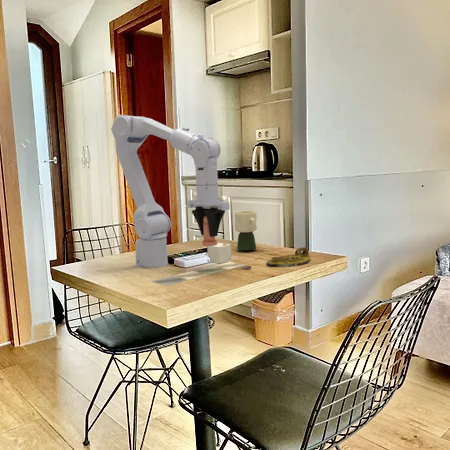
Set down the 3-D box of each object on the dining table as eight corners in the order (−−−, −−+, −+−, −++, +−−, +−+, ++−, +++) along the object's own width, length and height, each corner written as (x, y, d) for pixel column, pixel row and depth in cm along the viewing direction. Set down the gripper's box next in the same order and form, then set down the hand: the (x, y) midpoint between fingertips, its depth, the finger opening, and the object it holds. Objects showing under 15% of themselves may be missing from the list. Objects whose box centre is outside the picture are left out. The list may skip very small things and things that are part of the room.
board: (146, 284, 121) (146, 280, 120) (226, 264, 140) (226, 260, 140) (170, 290, 113) (170, 286, 113) (251, 268, 132) (251, 265, 132)
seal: (277, 274, 131) (319, 265, 138) (278, 258, 130) (320, 250, 137) (258, 264, 139) (298, 257, 146) (258, 249, 138) (299, 242, 145)
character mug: (264, 251, 155) (263, 212, 153) (245, 254, 152) (244, 214, 150) (247, 247, 165) (246, 209, 163) (229, 249, 161) (228, 211, 160)
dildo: (199, 244, 128) (197, 215, 127) (210, 242, 131) (209, 213, 129) (209, 246, 125) (207, 216, 124) (220, 244, 128) (219, 214, 127)
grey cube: (208, 261, 145) (207, 245, 144) (220, 258, 148) (219, 242, 147) (219, 263, 141) (218, 246, 140) (231, 260, 145) (230, 244, 144)
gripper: (178, 185, 128) (180, 235, 130) (214, 186, 118) (216, 240, 119) (198, 183, 133) (200, 231, 135) (234, 184, 122) (236, 236, 124)
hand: (209, 235), depth 127 cm, fingers closed on dildo, 3 cm apart
